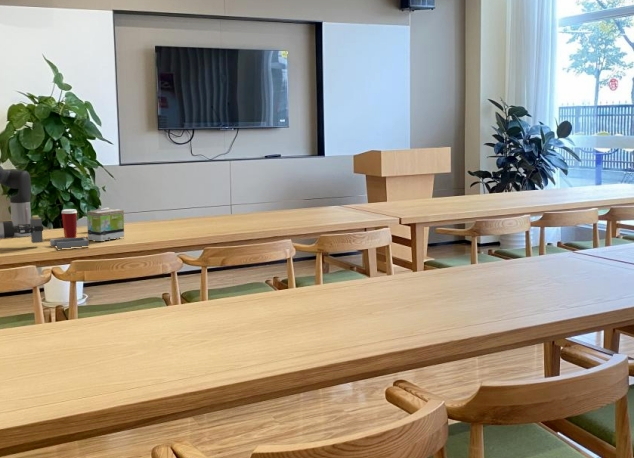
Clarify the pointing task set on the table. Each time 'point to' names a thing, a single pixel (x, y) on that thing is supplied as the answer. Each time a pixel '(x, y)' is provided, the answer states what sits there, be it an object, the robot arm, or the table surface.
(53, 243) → the cable clip
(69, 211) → the paper cup
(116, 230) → the tea box
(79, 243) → the end holder
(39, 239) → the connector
